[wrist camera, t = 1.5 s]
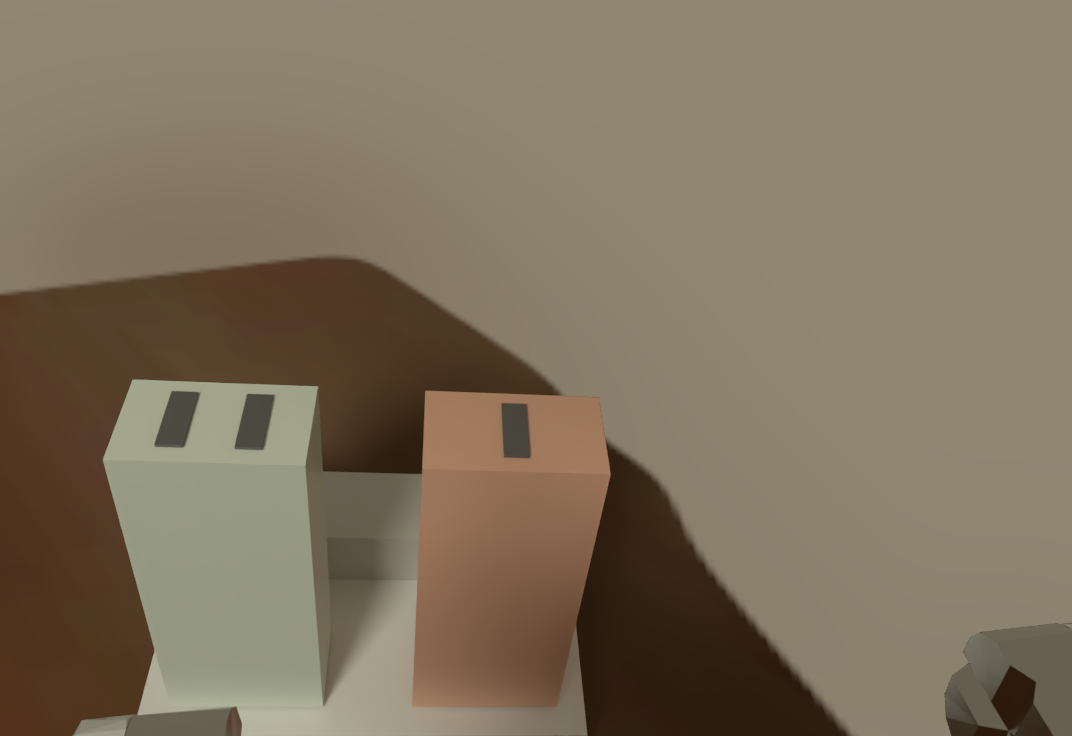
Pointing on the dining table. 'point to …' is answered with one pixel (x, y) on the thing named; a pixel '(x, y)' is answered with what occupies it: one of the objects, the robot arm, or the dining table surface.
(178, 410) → the pale green tall block
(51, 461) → the dining table surface
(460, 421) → the orange-brown upright block
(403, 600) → the tile board
